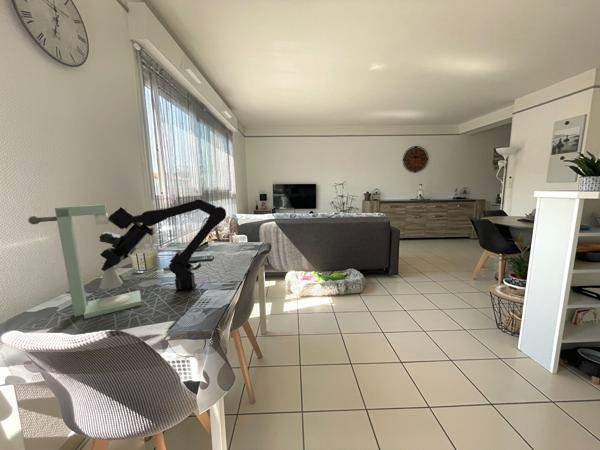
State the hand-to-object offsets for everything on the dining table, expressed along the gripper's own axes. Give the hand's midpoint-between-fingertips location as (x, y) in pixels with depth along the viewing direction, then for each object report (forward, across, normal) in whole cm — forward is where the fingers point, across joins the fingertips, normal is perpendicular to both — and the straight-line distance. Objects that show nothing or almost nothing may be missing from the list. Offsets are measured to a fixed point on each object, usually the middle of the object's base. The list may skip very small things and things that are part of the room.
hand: (104, 268), depth 96 cm
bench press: (+9, +8, +8) cm, 15 cm away
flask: (+4, 0, +6) cm, 8 cm away
